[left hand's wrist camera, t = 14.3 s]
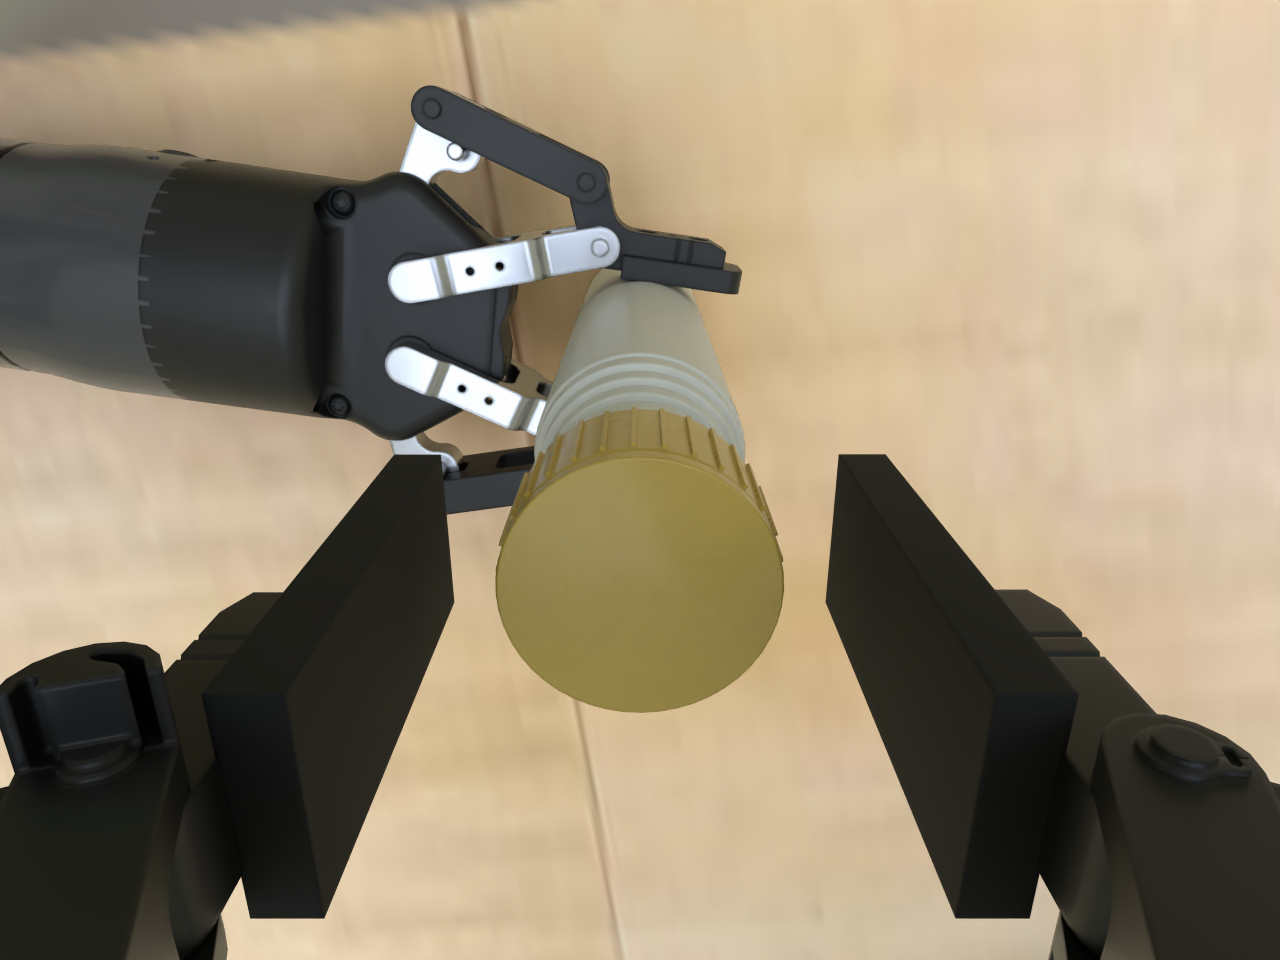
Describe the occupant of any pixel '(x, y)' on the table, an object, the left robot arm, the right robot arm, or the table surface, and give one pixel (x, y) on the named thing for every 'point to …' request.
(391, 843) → the table surface
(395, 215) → the right robot arm
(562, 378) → the bottle
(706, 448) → the cap
